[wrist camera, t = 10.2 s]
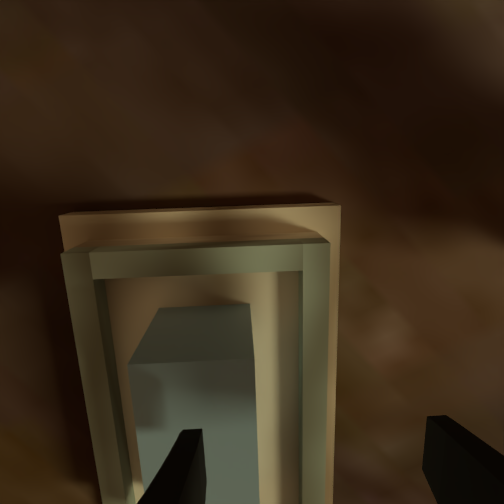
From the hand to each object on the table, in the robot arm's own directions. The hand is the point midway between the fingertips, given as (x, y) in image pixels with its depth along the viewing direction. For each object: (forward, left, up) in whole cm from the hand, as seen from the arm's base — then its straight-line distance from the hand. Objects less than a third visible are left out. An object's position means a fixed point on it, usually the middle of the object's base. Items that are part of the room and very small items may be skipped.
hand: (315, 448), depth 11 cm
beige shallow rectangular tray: (+4, +3, -10) cm, 11 cm away
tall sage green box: (+4, +3, -7) cm, 8 cm away
